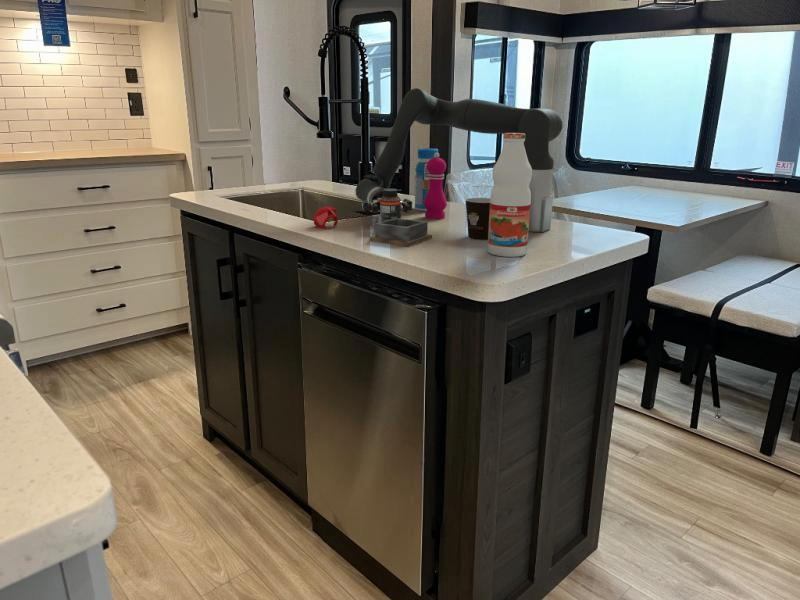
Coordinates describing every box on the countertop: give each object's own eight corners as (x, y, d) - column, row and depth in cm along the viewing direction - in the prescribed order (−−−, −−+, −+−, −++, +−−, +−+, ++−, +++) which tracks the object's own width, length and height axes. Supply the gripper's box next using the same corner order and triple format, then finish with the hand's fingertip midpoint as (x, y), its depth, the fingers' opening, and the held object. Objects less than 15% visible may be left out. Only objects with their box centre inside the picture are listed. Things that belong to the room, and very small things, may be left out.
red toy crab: (345, 216, 176) (334, 203, 179) (332, 211, 171) (321, 198, 174) (329, 237, 179) (318, 224, 182) (316, 233, 174) (305, 220, 177)
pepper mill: (446, 219, 190) (449, 153, 184) (423, 219, 190) (425, 153, 184) (445, 215, 197) (447, 151, 191) (423, 215, 197) (424, 151, 191)
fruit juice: (526, 249, 152) (535, 132, 144) (527, 258, 144) (536, 134, 135) (488, 247, 154) (494, 132, 145) (486, 256, 145) (493, 133, 137)
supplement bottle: (390, 226, 179) (391, 187, 176) (405, 229, 175) (405, 189, 172) (375, 229, 175) (375, 189, 172) (390, 232, 171) (390, 191, 168)
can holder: (432, 238, 164) (432, 221, 162) (408, 246, 154) (409, 229, 153) (394, 233, 170) (394, 217, 168) (369, 240, 160) (369, 223, 159)
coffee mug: (458, 235, 168) (459, 198, 165) (485, 233, 171) (487, 197, 168) (480, 244, 158) (482, 205, 155) (508, 241, 161) (511, 203, 158)
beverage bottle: (409, 209, 208) (410, 148, 201) (422, 206, 214) (424, 147, 208) (430, 212, 203) (432, 150, 197) (443, 209, 210) (445, 148, 203)
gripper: (357, 188, 184) (366, 196, 169) (403, 187, 187) (416, 195, 172) (357, 213, 186) (366, 223, 171) (403, 212, 189) (416, 221, 174)
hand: (391, 209), depth 172 cm, fingers open, 8 cm apart
